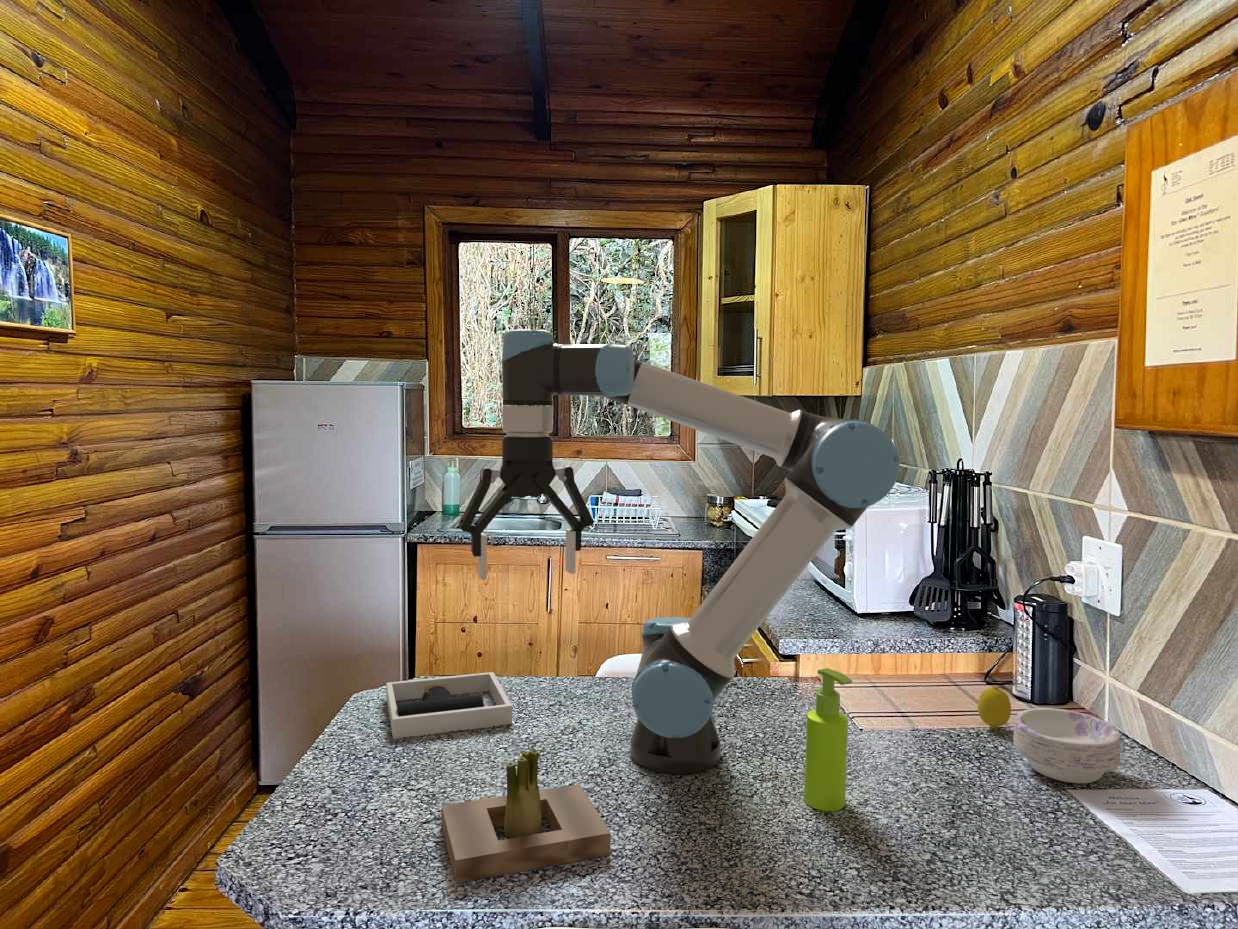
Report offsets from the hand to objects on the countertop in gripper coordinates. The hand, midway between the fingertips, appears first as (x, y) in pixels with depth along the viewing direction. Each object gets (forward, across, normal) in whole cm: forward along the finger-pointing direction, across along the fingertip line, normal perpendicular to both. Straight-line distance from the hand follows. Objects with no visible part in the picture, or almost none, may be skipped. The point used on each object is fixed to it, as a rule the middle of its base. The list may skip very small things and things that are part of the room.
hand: (527, 575), depth 122 cm
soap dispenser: (+33, -41, +20) cm, 56 cm away
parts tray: (+33, +8, -32) cm, 47 cm away
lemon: (+33, -86, +7) cm, 92 cm away
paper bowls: (+33, -84, +24) cm, 93 cm away
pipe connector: (+33, +10, -30) cm, 46 cm away
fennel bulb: (+33, +4, +16) cm, 37 cm away
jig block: (+33, +4, +16) cm, 37 cm away
